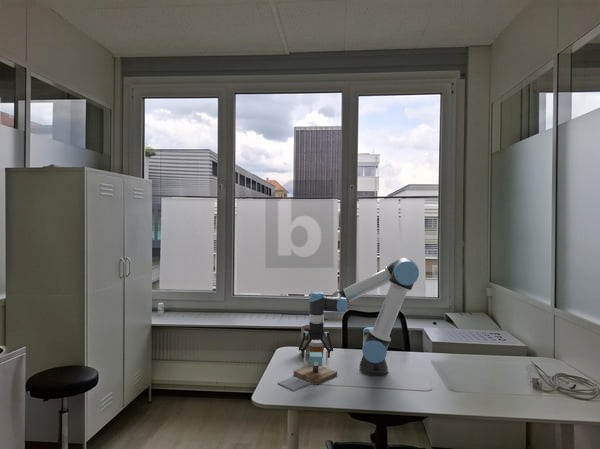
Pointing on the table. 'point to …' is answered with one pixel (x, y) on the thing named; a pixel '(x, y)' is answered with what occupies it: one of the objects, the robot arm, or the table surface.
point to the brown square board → (315, 373)
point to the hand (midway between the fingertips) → (315, 363)
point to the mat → (293, 383)
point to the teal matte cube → (315, 358)
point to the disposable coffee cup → (316, 346)
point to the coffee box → (306, 329)
